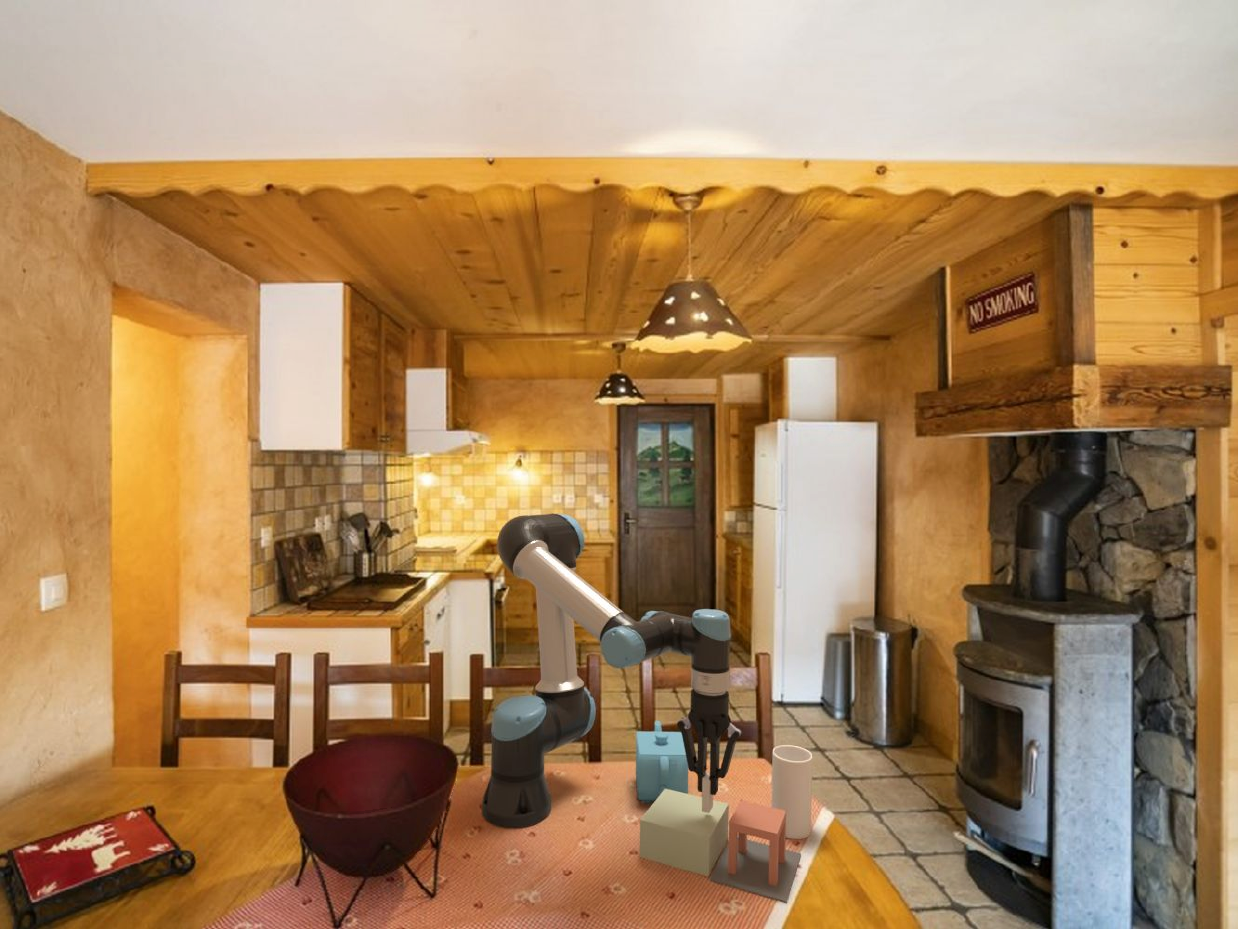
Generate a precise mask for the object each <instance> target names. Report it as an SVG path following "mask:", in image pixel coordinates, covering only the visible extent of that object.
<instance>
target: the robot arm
mask: <svg viewBox="0 0 1238 929" xmlns="http://www.w3.org/2000/svg"><path fill="white" fill-rule="evenodd" d="M496 542H497V543H496V549H497V553H498V556H499V558H500V560H501V562H502V564H504V566H505V568H506V569H508V570H509V571H510V572H511V573H512V574H513V575H515V577H516V578H518V579H521V580H522V579H523V580H525V579H526V580H527V581H529V582H530V583H531V584H532V585H533V586H534V587H535V597H536V599H535V600H536V612H537V629H538V630H537V631H538V644H539V648H538V649H539V661H540V663H539V665H540V680H539V681H538V683H537V684H536V685H535V688H534V689H535V695H533V694H523V695H521V696H518V695H516V696H512V697H509V698H507V699H504V700H503V701H502V702H500V703H499V704H498V705H497V706H496V707H495V708H494V711H493V713H492V722H491V725H490V729H491V730H490V732H491V757H490V758H491V759H490V761H491V762H490V777H489V780H488V783H487V786H486V789H485V792H484V794H483V797H482V802H481V813H482V817H483V818H484V819H485V821H486V822H488V823H490V824H492V825H495V826H497V827H502V828H515V829H516V828H517V829H518V828H524V827H528V826H533V825H536V824H537V823H540V822H542V821H543V820H545V819H546V818H547V817H548V816H549V814H550V813H551V811H552V796H551V792H550V788H549V785H548V782H547V779H546V775H545V754H547V753H549V752H551V751H554V750H557V749H559V748H561V747H563V746H566V745H568V744H570V743H573V742H576V741H578V740H579V739H580V738H582V737H583V736H585V735H586V734H587V733H589V732H590V730H591V729H593V728H592V727H593V726H594V723H595V720H596V711H597V709H596V703H595V702H596V701H595V699H594V697H593V696H591V692H590V690H588V689H587V688H586V687H585V682H584V681H583V680H582V679H581V678H580V677H579V676H578V669H577V655H576V653H577V651H576V639H575V622H576V623H577V624H578V625H580V626H581V627H582V628H583V629H584V630H585V631H586V632H588V634H590V635H591V636H593V638H594V639H595V640H597V641H598V642H599V643H600V651H601V655H602V656H603V658H604V660H605V662H606V663H607V664H608V665H609V666H611V667H612V668H615V669H623V668H625V669H626V668H629V667H635V666H638V665H639V664H640V663H643V662H645V661H647V660H650V659H653V658H657V657H659V656H662V655H666V654H668V653H675V654H680V655H684V656H690V658H691V660H690V661H691V669H690V670H691V671H690V672H691V673H690V674H691V676H690V677H691V678H690V682H691V683H690V686H691V688H692V689H691V690H690V710H689V712H688V715H687V716H686V717H681V718H680V719H679V720H678V721H677V723H676V726H677V728H678V731H679V732H681V733H682V738H683V743H684V748H685V753H686V758H687V763H688V771H690V772H693V773H695V774H696V776H697V792H699V793H701V797H702V811H703V812H707V813H709V812H710V811H711V809H712V807H713V800H714V796H716V795H717V793H718V792H719V779H724V778H726V776H727V774H728V773H729V770H730V769H729V768H730V766H731V761H732V759H733V755H734V750H735V747H736V744H737V743H736V742H737V740H738V739H739V738H740V736H741V735H742V733H743V729H742V728H741V727H736V726H735V725H734V724H732V719H731V717H730V713H729V711H730V710H729V708H730V706H729V705H730V693H729V691H728V690H730V650H731V649H730V648H731V647H730V646H731V638H732V633H731V619H730V616H729V615H728V613H727V612H725V611H723V610H719V609H710V608H703V609H700V608H699V609H696V610H695V611H693V613H692V617H690V616H685V615H679V614H675V613H670V612H666V611H662V610H660V611H655V610H650V611H647V612H646V613H645V615H643V616H642V617H641V619H640V620H639V621H637V620H634V619H633V617H631V616H629V614H626V613H625V612H624V611H623V610H622V609H620V608H619V607H618V606H617V605H615V604H614V603H613V602H612V601H611V600H609V599H608V598H606V596H604V594H602V593H601V592H600V591H599V590H597V589H595V587H593V586H592V585H591V584H589V583H588V582H587V581H586V580H584V579H583V578H582V577H581V576H580V575H578V574H577V573H576V572H575V571H576V569H577V559H578V558H579V557H580V556H581V554H582V552H583V551H584V549H585V535H584V531H583V529H582V526H581V525H580V524H579V522H577V520H576V519H575V518H573V516H570V515H568V514H564V513H549V514H548V513H545V514H534V515H533V514H531V515H527V514H526V515H519V516H515V517H513V518H510V520H508V521H507V522H506V523H505V524H504V525H503V526H502V528H501V529H500V531H499V533H498V536H497V540H496ZM574 621H575V622H574ZM691 727H692V728H693V729H694V731H695V733H696V734H697V735H696V736H697V737H696V741H697V750H696V747H695V742H694V737H693V733H692V732H693V731H692V728H691ZM727 730H728V731H727ZM726 731H727V738H728V740H727V743H726V747H725V751H724V754H723V757H722V762H721V765H720V753H721V752H720V749H721V748H720V745H721V743H720V742H721V736H723V734H724V733H726ZM708 739H709V744H710V746H709V750H710V752H709V754H710V756H709V772H707V771H708V767H707V763H708V762H707V761H708V760H707V759H708ZM696 751H697V752H696ZM696 753H697V754H696Z"/></svg>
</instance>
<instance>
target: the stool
mask: <svg viewBox="0 0 1238 929" xmlns="http://www.w3.org/2000/svg"><path fill="white" fill-rule="evenodd" d="M748 836H752V837H756V838H759V839H763V840H767V841H769V844H768V845H769V884H770V885H774V886H777V883H778V862H780V863H783V864H784V862H785V849H786V842H787V841H786V840H787V839H786V811H785V810H780V809H776V808H772V807H770V806H767V805H763V804H758V803H755V802H754V803H753V802H750V801H745V800H743V799H742V800H741V799H740V801H739V802H738V805H737V806H736V807H735V810H734V811H733V814H732V816H731V818H729V820H728V842H729V848H728V873H731V874H736V872H737V855H738V852H742V853H745V852H746V850H747V840H748Z"/></svg>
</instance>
